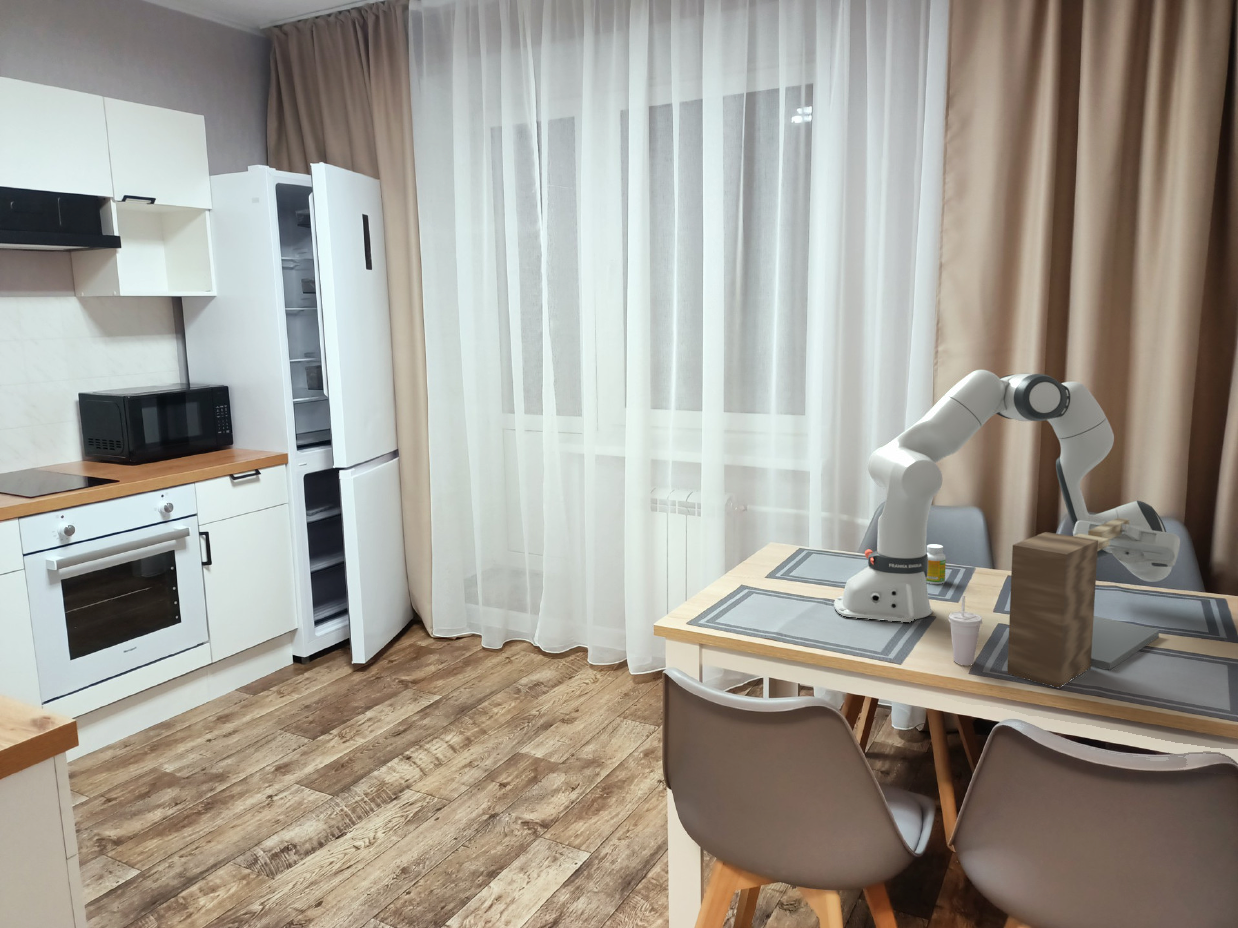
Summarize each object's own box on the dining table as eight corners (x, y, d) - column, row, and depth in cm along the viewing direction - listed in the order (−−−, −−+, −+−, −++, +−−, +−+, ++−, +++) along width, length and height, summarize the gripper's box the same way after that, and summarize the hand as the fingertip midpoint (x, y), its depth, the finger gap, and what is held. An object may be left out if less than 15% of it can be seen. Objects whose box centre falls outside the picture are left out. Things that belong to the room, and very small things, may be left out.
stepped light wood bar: (1108, 527, 195) (1108, 516, 195) (1137, 531, 191) (1138, 520, 190) (1062, 548, 181) (1062, 536, 180) (1093, 553, 176) (1093, 541, 176)
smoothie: (941, 657, 184) (943, 591, 182) (971, 655, 185) (973, 590, 182) (955, 669, 178) (958, 601, 176) (986, 667, 178) (989, 599, 176)
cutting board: (1081, 619, 204) (1081, 612, 203) (1158, 636, 192) (1159, 630, 191) (1028, 649, 187) (1028, 642, 187) (1109, 670, 175) (1110, 662, 175)
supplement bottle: (942, 585, 231) (943, 549, 230) (921, 583, 234) (922, 547, 233) (947, 580, 236) (948, 544, 234) (926, 577, 239) (927, 542, 237)
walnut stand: (1039, 654, 184) (1045, 531, 180) (1090, 668, 176) (1098, 540, 172) (1007, 673, 175) (1012, 544, 171) (1059, 688, 167) (1066, 554, 163)
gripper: (1088, 526, 207) (1067, 505, 198) (1188, 540, 192) (1170, 519, 183) (1082, 552, 206) (1060, 532, 197) (1181, 568, 190) (1163, 548, 182)
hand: (1114, 526), depth 190 cm, fingers closed on stepped light wood bar, 2 cm apart
